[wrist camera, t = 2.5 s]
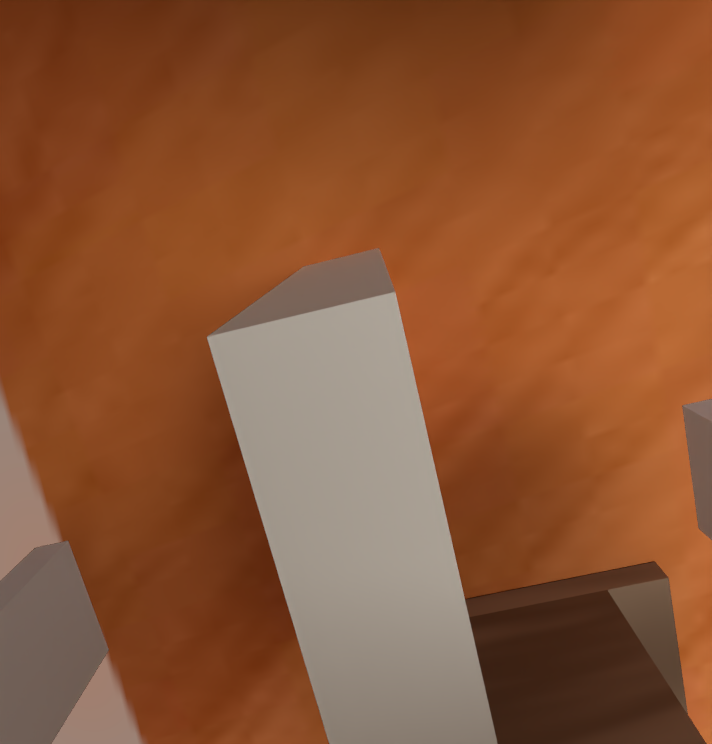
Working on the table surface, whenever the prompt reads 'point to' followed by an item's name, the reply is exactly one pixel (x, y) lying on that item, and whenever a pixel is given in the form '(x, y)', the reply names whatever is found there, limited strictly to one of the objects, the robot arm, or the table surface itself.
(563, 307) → the table surface
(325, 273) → the door panel
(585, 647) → the track
